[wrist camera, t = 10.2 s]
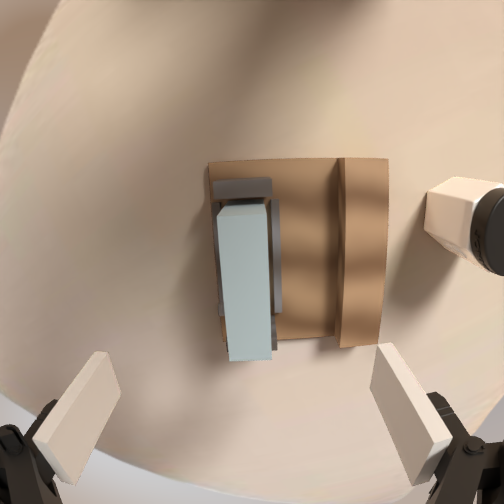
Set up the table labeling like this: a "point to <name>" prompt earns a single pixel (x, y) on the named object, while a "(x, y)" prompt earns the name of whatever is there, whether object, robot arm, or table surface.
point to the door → (245, 279)
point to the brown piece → (315, 242)
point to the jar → (469, 220)
